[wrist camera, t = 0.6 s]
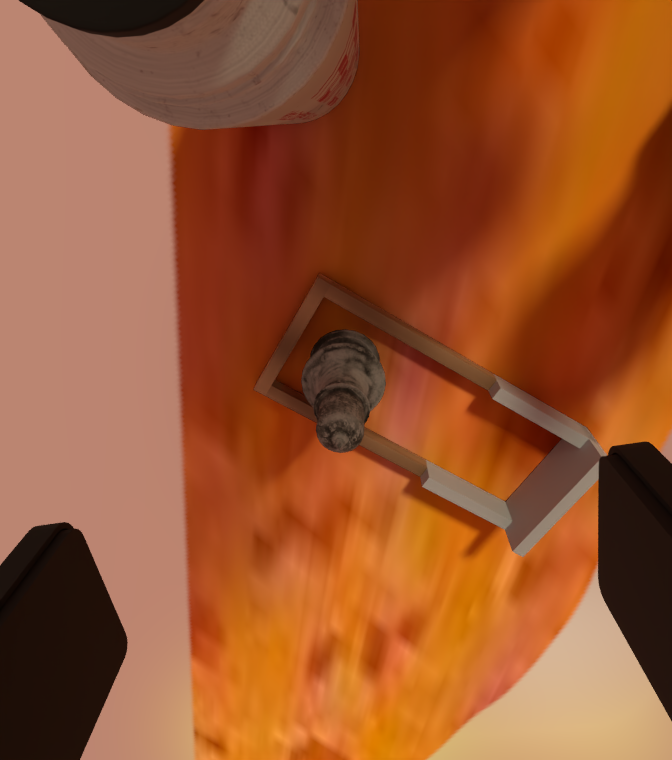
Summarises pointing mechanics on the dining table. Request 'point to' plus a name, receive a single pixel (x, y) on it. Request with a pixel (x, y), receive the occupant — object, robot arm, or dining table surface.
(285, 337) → the channel
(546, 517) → the socket
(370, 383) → the dark grey chess piece
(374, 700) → the dining table surface
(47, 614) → the robot arm
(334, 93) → the thermos bottle
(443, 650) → the dining table surface
